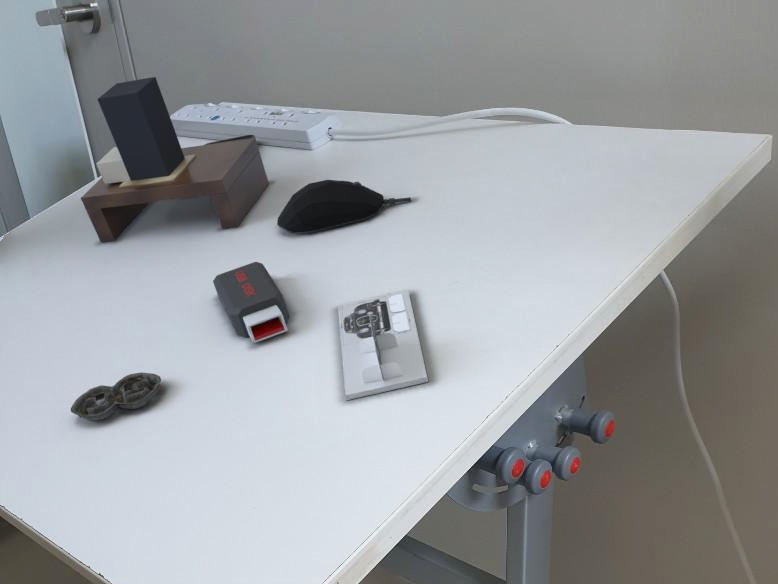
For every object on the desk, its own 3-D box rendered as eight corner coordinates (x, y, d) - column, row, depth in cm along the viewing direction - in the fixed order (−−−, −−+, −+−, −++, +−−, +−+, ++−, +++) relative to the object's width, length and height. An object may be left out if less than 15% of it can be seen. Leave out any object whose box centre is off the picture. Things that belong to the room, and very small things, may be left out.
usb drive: (267, 279, 88) (259, 254, 86) (298, 329, 79) (289, 302, 77) (218, 297, 87) (208, 272, 85) (244, 349, 78) (234, 322, 76)
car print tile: (428, 381, 69) (417, 331, 66) (346, 400, 69) (332, 351, 66) (409, 293, 80) (399, 247, 77) (338, 310, 80) (326, 265, 77)
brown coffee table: (100, 242, 104) (79, 196, 100) (140, 199, 112) (122, 154, 109) (237, 227, 99) (220, 177, 95) (269, 183, 107) (254, 135, 104)
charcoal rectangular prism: (185, 158, 103) (155, 76, 97) (169, 176, 99) (137, 92, 93) (122, 167, 105) (89, 87, 99) (104, 184, 102) (69, 103, 95)
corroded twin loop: (74, 404, 77) (68, 395, 76) (160, 373, 78) (156, 363, 77) (77, 433, 73) (71, 423, 72) (168, 400, 74) (163, 390, 73)
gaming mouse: (413, 212, 93) (405, 175, 90) (278, 241, 94) (267, 205, 91) (409, 189, 97) (402, 153, 95) (281, 218, 99) (271, 183, 96)
